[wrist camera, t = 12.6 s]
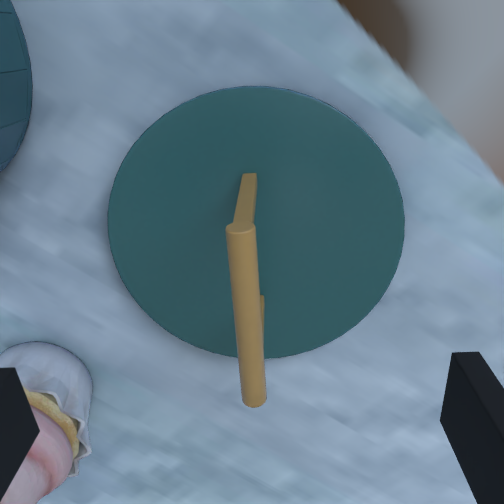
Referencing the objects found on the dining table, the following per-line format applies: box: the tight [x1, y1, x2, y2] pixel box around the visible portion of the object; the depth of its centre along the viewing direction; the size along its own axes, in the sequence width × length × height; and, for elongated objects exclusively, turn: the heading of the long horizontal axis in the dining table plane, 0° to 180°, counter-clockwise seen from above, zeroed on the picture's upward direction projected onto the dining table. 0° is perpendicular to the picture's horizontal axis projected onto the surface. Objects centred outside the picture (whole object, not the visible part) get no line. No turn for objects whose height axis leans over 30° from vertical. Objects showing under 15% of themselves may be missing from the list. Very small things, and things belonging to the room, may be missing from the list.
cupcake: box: [0, 341, 93, 504], centre depth 25 cm, size 9×9×10 cm
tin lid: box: [108, 86, 405, 408], centre depth 20 cm, size 16×16×9 cm
